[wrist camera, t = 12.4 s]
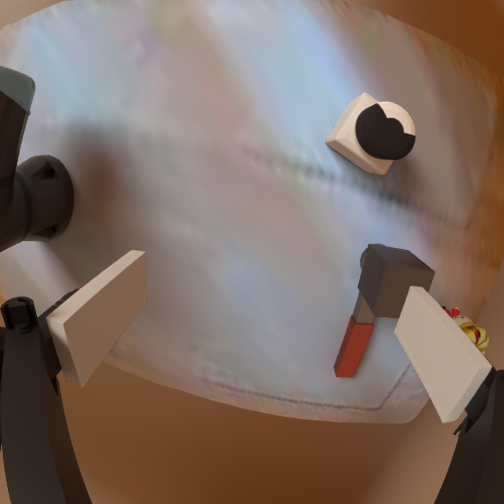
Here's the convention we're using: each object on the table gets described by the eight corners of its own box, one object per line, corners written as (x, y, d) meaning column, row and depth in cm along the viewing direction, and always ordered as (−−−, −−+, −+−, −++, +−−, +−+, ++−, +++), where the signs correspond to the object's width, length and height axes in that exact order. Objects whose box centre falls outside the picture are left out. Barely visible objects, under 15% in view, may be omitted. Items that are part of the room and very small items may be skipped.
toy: (447, 287, 40) (494, 333, 26) (460, 311, 42) (502, 357, 27) (417, 315, 42) (457, 369, 28) (432, 336, 44) (468, 389, 29)
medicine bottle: (366, 172, 36) (402, 180, 25) (323, 142, 35) (345, 136, 24) (390, 132, 34) (433, 126, 23) (349, 101, 33) (380, 81, 22)
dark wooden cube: (368, 243, 36) (390, 265, 29) (408, 250, 36) (435, 271, 28) (357, 287, 38) (374, 316, 31) (396, 291, 38) (418, 319, 31)
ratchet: (364, 241, 39) (383, 260, 32) (395, 246, 39) (418, 265, 31) (328, 366, 47) (334, 398, 39) (355, 367, 47) (364, 398, 39)
